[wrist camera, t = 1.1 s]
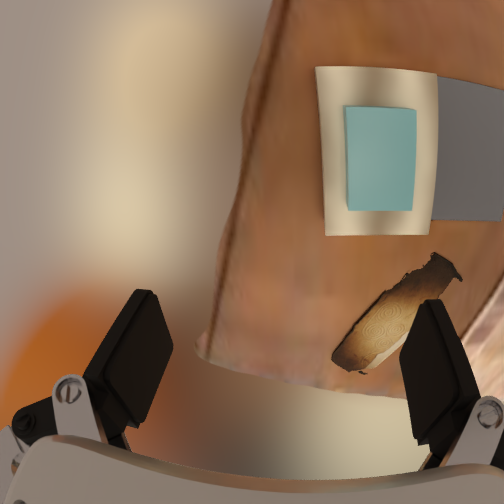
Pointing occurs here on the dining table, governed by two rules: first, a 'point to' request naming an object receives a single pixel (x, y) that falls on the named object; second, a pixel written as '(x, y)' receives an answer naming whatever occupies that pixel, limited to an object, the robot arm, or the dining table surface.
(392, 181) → the tile
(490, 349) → the dining table surface
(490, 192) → the mat
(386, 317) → the parchment
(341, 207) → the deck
